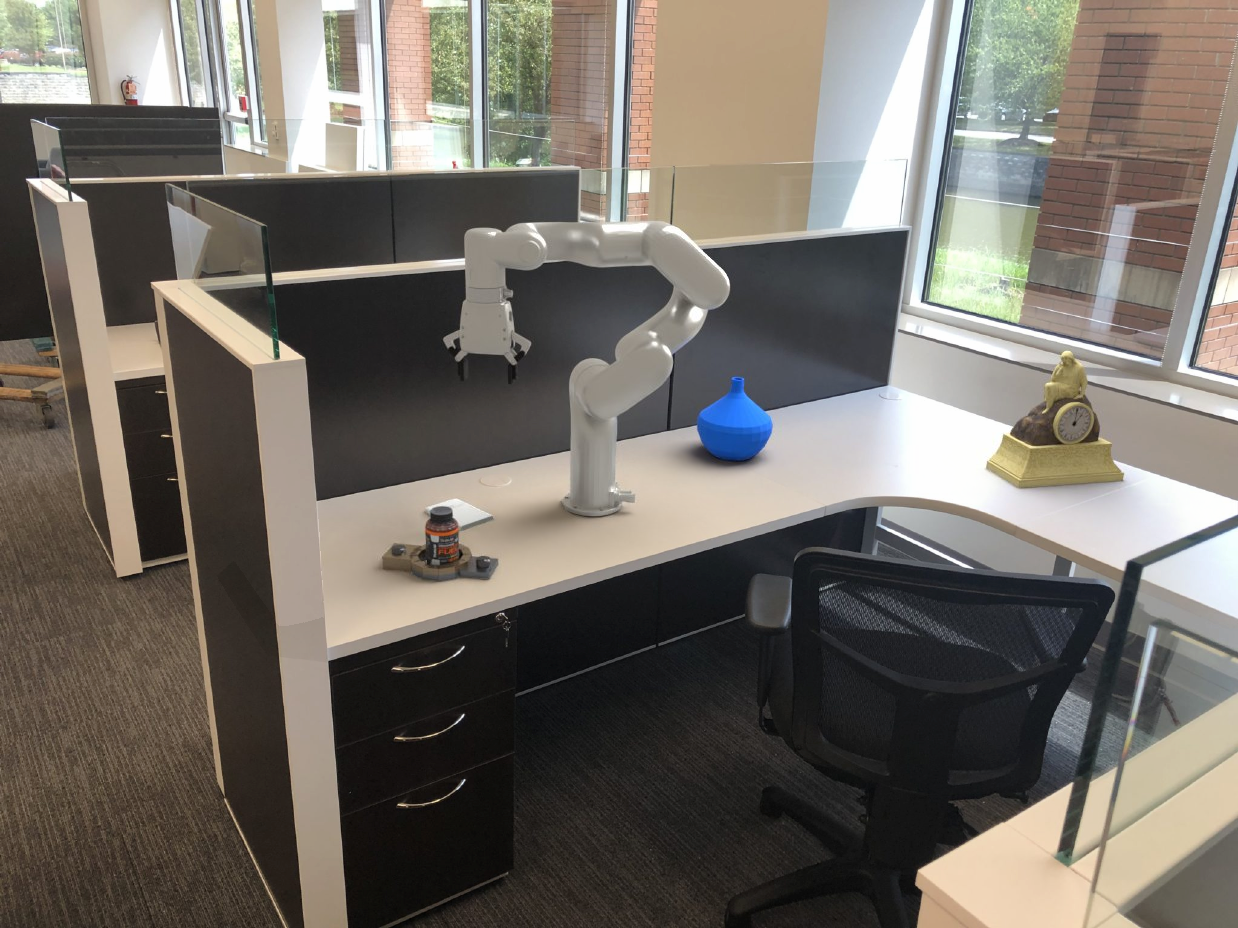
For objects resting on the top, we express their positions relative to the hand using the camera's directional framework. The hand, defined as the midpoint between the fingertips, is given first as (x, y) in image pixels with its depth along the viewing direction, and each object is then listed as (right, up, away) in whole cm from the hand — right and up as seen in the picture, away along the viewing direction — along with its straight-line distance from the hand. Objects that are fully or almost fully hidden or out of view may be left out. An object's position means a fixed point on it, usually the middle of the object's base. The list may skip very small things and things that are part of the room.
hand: (488, 381), depth 191 cm
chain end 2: (-5, -35, -14) cm, 38 cm away
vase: (+54, -14, +47) cm, 73 cm away
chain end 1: (-9, -35, -13) cm, 39 cm away
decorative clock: (+130, -19, +40) cm, 137 cm away
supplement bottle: (-6, -35, -13) cm, 38 cm away
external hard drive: (-7, -28, +8) cm, 30 cm away
